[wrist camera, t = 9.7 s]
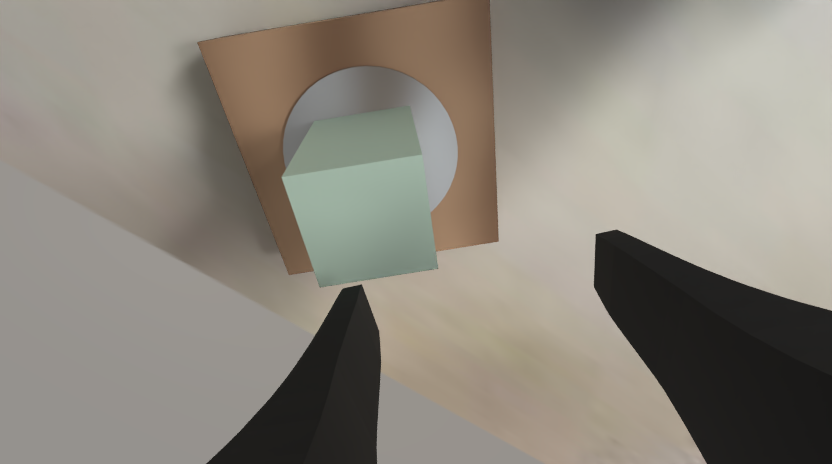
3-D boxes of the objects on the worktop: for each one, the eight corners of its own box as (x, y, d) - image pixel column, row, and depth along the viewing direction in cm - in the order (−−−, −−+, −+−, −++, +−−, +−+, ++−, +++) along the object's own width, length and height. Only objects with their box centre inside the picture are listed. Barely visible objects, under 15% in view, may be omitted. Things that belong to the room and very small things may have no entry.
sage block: (409, 105, 16) (422, 154, 11) (422, 192, 18) (437, 268, 13) (314, 121, 16) (281, 177, 11) (337, 206, 18) (319, 287, 13)
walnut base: (475, -6, 16) (490, -7, 14) (487, 218, 22) (499, 243, 20) (221, 37, 17) (195, 42, 14) (298, 248, 22) (288, 277, 20)
